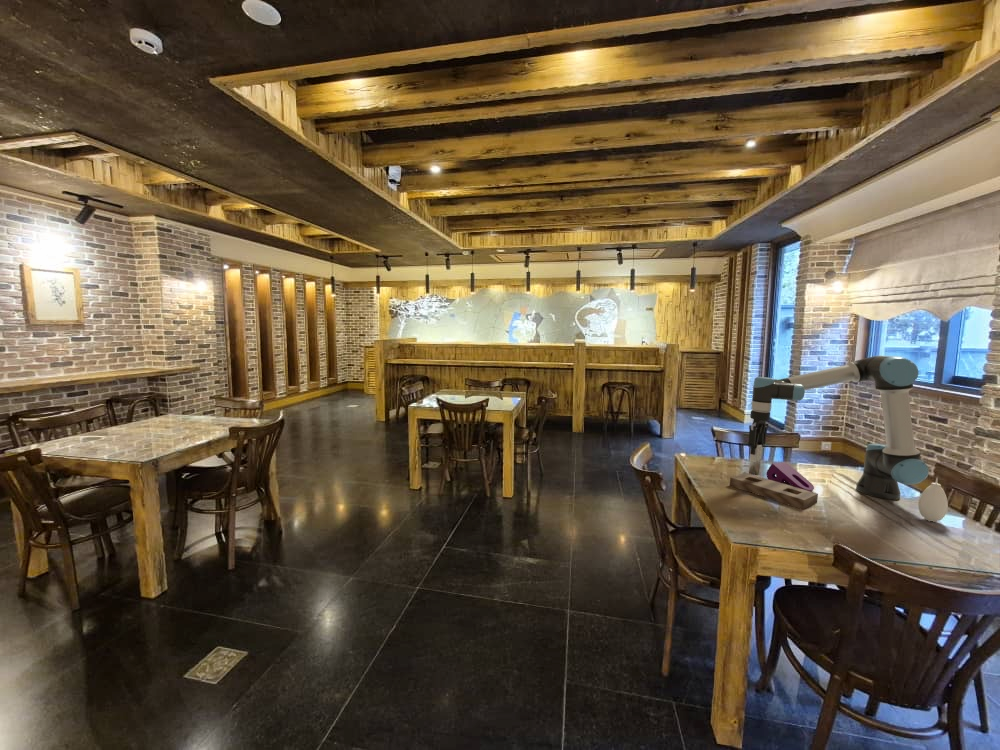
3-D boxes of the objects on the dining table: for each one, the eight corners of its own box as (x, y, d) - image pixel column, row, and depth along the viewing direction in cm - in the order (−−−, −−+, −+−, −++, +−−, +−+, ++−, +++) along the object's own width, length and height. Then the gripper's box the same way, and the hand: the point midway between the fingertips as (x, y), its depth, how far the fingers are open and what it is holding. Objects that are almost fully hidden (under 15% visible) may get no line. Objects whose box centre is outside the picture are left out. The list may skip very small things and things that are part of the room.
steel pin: (760, 474, 192) (763, 445, 190) (756, 475, 189) (759, 446, 188) (751, 471, 195) (754, 442, 193) (747, 473, 193) (750, 443, 191)
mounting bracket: (808, 501, 194) (776, 474, 208) (818, 489, 190) (785, 461, 204) (794, 504, 191) (763, 475, 205) (804, 491, 186) (772, 463, 201)
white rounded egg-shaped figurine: (912, 517, 165) (918, 474, 164) (923, 515, 168) (929, 472, 166) (938, 526, 158) (945, 481, 156) (949, 524, 161) (956, 479, 159)
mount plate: (817, 502, 178) (818, 493, 177) (803, 509, 170) (804, 500, 170) (744, 480, 202) (745, 472, 202) (729, 485, 195) (730, 477, 194)
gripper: (760, 408, 197) (755, 455, 199) (742, 410, 187) (737, 460, 190) (778, 410, 191) (772, 460, 193) (760, 413, 181) (754, 465, 184)
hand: (755, 460), depth 191 cm, fingers closed on steel pin, 4 cm apart
